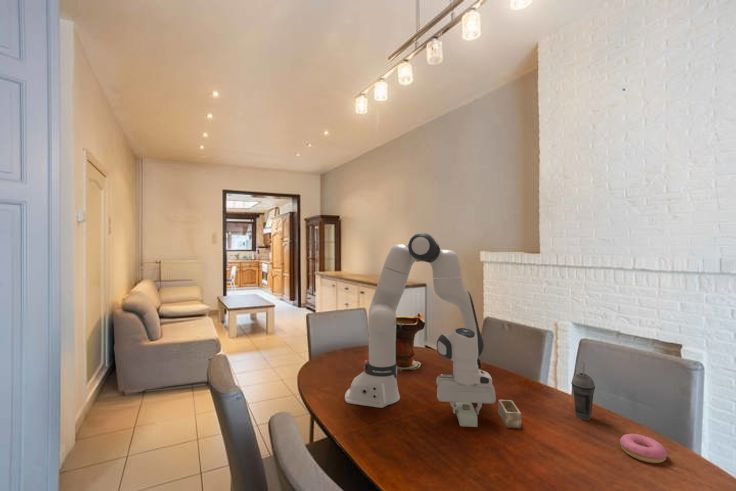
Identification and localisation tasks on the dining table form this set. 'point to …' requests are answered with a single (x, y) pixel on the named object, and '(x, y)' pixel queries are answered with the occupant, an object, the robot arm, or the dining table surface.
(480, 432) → the dining table surface
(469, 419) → the lid
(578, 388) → the beverage cup
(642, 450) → the doughnut
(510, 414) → the box base
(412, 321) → the decorative vase
